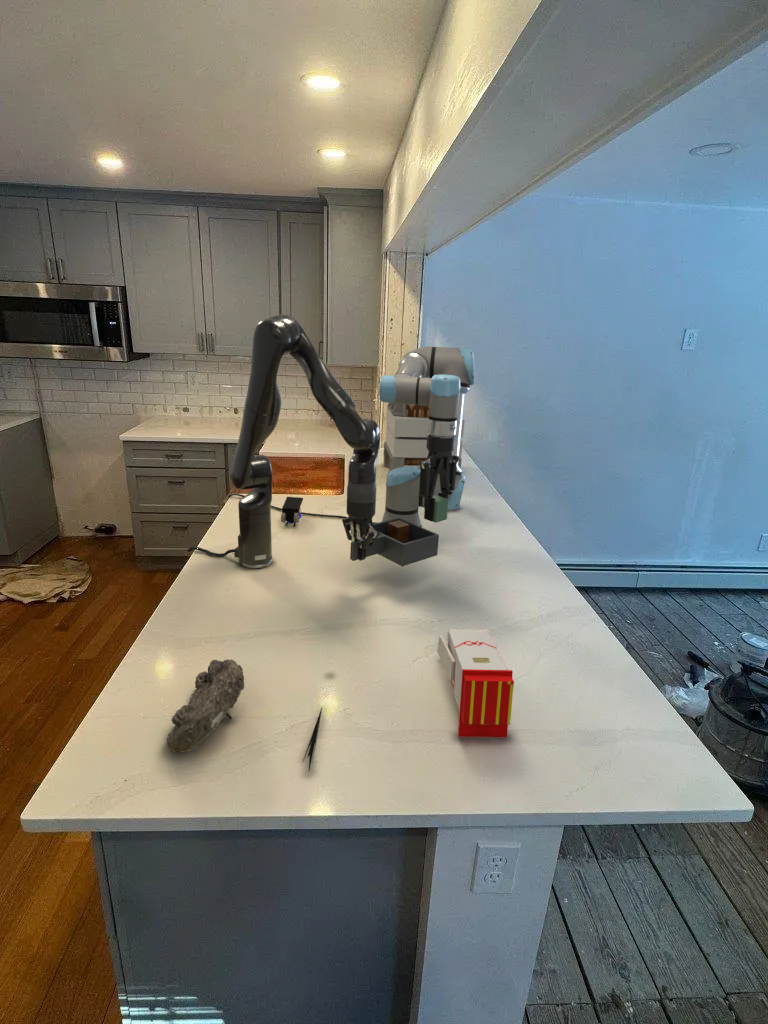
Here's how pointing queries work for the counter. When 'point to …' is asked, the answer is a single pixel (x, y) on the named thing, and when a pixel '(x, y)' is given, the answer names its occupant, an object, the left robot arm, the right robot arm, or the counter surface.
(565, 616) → the counter surface
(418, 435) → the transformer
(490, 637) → the toy
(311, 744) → the feather
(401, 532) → the walnut block
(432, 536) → the bin
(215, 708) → the fossil
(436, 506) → the green block
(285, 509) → the figurine character
